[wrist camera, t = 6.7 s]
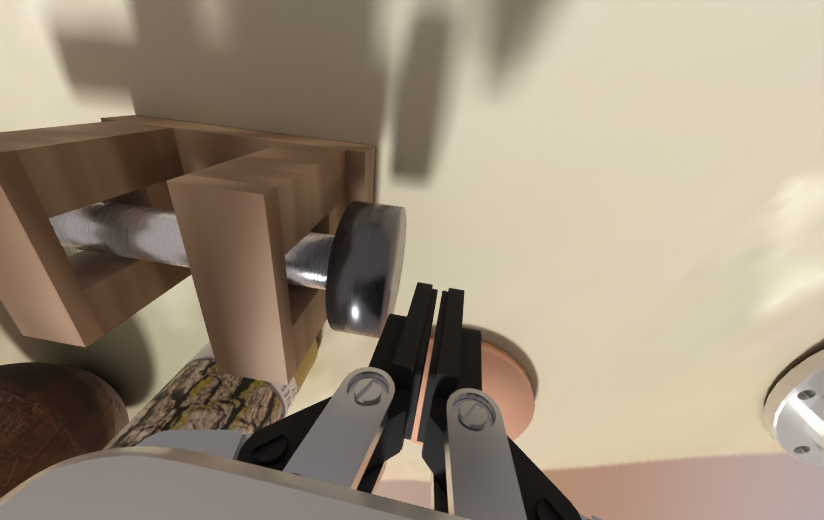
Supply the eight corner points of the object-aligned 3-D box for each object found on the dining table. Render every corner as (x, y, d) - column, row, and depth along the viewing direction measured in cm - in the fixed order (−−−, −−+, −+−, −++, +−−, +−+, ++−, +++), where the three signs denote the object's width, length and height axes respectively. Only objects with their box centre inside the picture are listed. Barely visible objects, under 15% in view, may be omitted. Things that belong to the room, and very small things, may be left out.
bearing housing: (375, 145, 17) (296, 199, 9) (370, 272, 21) (311, 390, 13) (135, 115, 18) (-128, 138, 10) (171, 241, 22) (2, 331, 14)
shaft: (410, 190, 15) (384, 241, 10) (400, 290, 18) (376, 368, 13) (14, 136, 17) (-174, 157, 12) (61, 235, 19) (-76, 286, 14)
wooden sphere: (-14, 318, 29) (-397, 505, 16) (133, 334, 28) (-165, 558, 14) (69, 424, 36) (-152, 613, 23) (190, 442, 35) (25, 658, 22)
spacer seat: (553, 351, 22) (556, 362, 21) (510, 453, 28) (511, 465, 27) (381, 322, 23) (378, 331, 22) (374, 426, 29) (372, 437, 28)
